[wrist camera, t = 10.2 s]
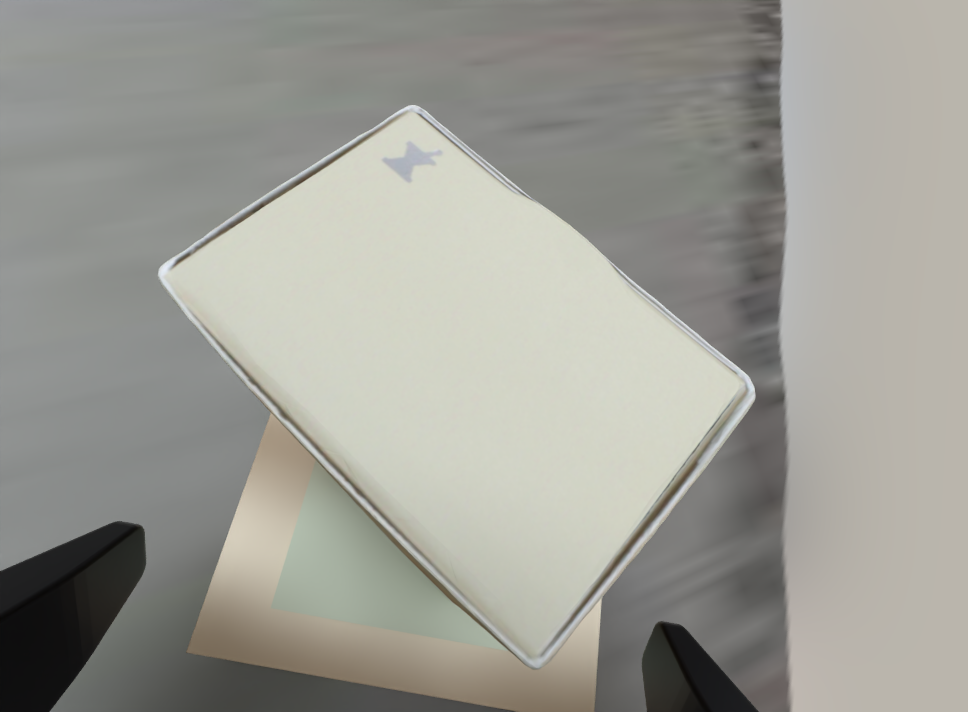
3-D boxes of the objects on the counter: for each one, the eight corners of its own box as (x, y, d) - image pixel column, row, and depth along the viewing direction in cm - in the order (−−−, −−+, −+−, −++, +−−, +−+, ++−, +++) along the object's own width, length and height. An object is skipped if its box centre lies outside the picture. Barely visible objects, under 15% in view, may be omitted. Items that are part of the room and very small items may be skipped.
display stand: (567, 702, 18) (610, 739, 14) (223, 640, 17) (161, 660, 13) (594, 384, 23) (631, 340, 19) (326, 331, 22) (303, 276, 18)
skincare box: (320, 467, 17) (116, 252, 6) (416, 380, 18) (400, 79, 7) (460, 614, 16) (541, 706, 4) (550, 508, 17) (778, 378, 6)
